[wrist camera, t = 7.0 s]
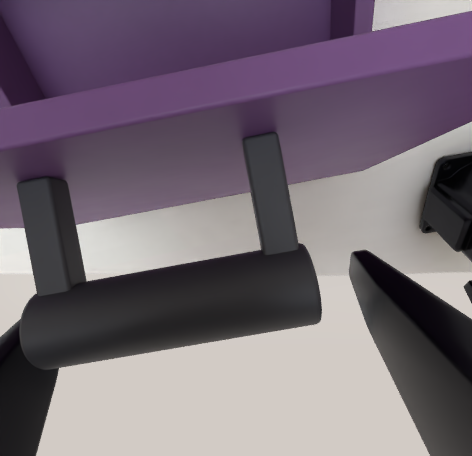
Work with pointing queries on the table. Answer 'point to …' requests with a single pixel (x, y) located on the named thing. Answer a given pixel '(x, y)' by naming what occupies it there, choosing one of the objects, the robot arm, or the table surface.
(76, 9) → the box
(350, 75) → the lid
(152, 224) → the table surface
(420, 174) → the table surface
